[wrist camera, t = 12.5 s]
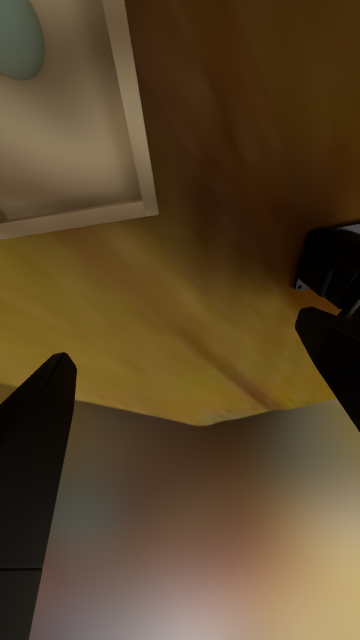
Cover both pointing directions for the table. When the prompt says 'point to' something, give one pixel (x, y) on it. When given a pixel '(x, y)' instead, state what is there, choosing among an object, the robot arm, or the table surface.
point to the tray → (75, 126)
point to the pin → (20, 40)
